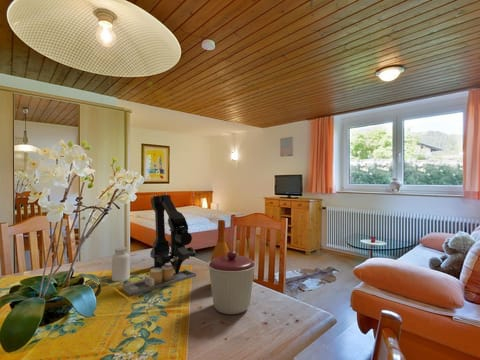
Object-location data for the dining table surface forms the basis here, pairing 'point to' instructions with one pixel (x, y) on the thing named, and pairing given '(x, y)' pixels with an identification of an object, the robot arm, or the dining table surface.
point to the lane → (143, 287)
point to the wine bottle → (220, 242)
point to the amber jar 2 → (168, 273)
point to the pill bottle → (120, 264)
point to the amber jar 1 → (157, 275)
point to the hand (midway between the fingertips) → (176, 273)
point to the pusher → (148, 281)
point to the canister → (231, 282)
